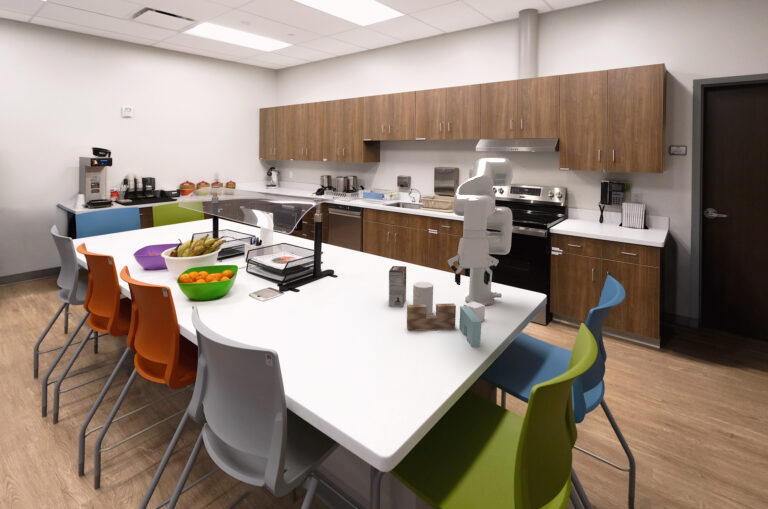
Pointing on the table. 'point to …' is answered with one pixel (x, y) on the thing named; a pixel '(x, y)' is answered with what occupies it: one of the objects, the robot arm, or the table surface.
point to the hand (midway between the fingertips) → (472, 283)
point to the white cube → (477, 309)
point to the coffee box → (397, 286)
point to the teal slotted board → (470, 326)
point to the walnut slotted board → (431, 317)
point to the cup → (423, 295)
